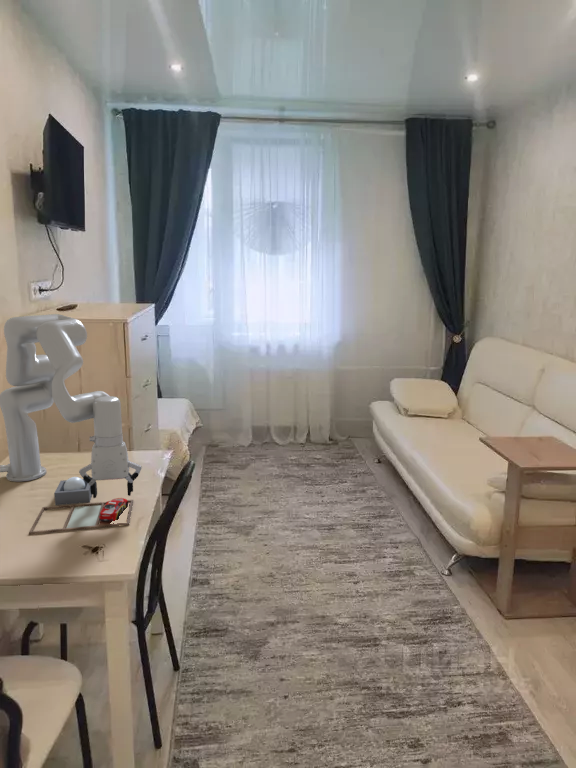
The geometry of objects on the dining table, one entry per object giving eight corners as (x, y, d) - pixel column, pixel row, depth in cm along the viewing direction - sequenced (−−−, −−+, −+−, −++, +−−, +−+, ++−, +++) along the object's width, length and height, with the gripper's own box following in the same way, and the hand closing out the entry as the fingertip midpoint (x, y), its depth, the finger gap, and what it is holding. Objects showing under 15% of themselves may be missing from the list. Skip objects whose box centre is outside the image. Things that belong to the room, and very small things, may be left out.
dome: (62, 501, 169) (60, 482, 167) (66, 493, 175) (64, 474, 174) (84, 499, 170) (82, 480, 169) (87, 491, 176) (86, 473, 175)
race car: (113, 504, 167) (112, 491, 167) (130, 504, 167) (130, 492, 166) (96, 523, 155) (94, 510, 154) (114, 524, 154) (113, 511, 153)
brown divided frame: (28, 534, 149) (28, 532, 149) (42, 509, 164) (42, 507, 164) (129, 525, 154) (129, 523, 154) (133, 501, 169) (133, 499, 169)
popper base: (55, 505, 167) (54, 493, 166) (61, 492, 176) (60, 480, 175) (89, 502, 169) (88, 490, 168) (94, 489, 178) (93, 478, 177)
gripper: (74, 445, 151) (79, 502, 155) (139, 442, 154) (142, 498, 158) (79, 436, 158) (83, 491, 162) (141, 434, 161) (143, 487, 165)
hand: (112, 495), depth 160 cm, fingers open, 9 cm apart
